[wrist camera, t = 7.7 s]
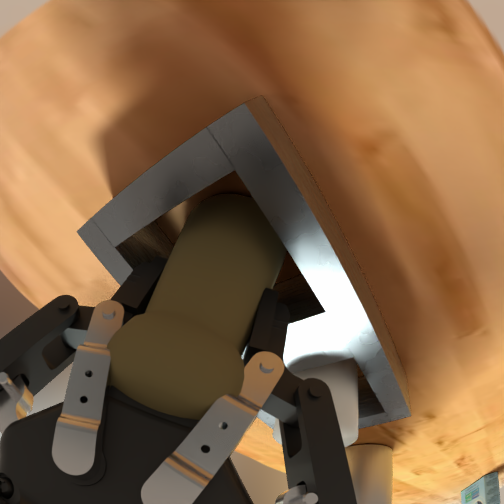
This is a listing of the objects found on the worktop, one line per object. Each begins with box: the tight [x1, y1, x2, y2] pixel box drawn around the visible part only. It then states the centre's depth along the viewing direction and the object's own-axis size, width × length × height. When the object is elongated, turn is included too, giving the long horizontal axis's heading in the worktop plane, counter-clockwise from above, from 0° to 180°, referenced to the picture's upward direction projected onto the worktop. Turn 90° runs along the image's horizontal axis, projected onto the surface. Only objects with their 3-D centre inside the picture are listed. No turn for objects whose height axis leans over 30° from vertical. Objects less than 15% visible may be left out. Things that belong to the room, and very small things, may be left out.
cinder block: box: [77, 96, 411, 430], centre depth 19 cm, size 24×11×4 cm, turn 33°
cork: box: [107, 194, 287, 429], centre depth 13 cm, size 6×6×11 cm
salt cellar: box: [273, 357, 358, 447], centre depth 20 cm, size 6×6×7 cm
